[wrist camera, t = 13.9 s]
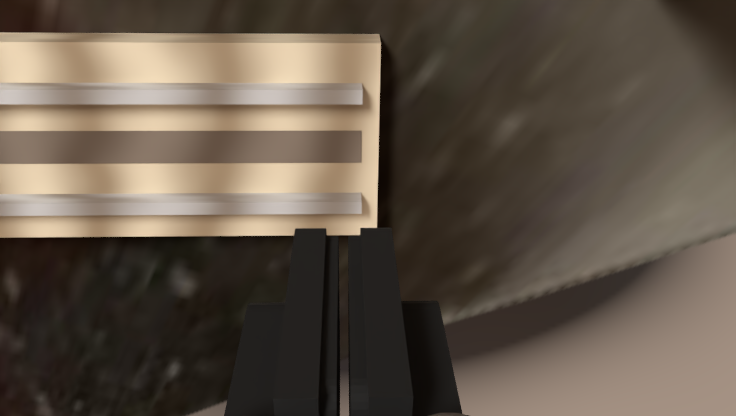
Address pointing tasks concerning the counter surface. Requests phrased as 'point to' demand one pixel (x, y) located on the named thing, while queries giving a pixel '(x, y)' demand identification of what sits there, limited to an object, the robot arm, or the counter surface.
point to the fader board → (188, 134)
